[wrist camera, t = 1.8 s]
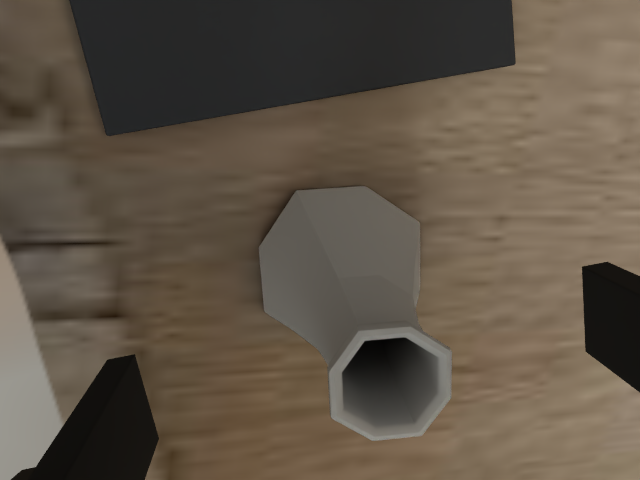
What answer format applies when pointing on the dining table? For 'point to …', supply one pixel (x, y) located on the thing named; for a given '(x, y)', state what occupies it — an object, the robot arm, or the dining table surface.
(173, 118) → the placemat
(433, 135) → the dining table surface
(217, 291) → the dining table surface
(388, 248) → the flask
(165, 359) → the dining table surface
